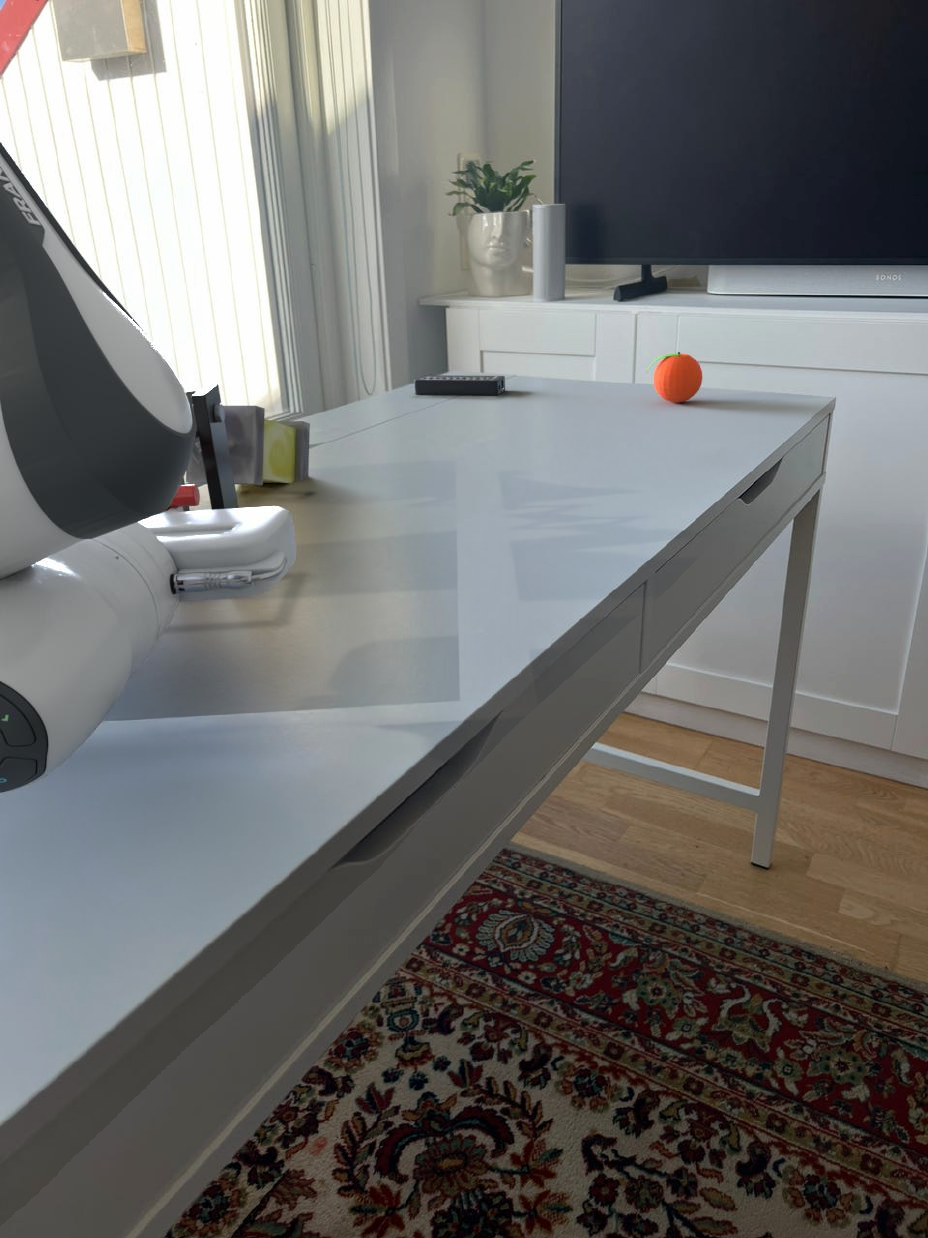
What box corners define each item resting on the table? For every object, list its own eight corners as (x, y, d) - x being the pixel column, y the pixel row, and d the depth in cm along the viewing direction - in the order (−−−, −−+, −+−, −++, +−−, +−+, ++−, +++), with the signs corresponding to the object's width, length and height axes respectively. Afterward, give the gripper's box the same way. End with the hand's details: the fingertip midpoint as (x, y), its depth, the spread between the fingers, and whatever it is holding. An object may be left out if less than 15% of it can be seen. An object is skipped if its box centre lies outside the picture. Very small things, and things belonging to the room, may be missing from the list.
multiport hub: (424, 388, 156) (423, 374, 155) (506, 389, 151) (505, 375, 150) (414, 394, 152) (413, 379, 151) (497, 395, 147) (496, 380, 146)
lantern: (244, 571, 107) (67, 575, 78) (248, 423, 106) (69, 371, 77) (305, 575, 105) (146, 580, 76) (309, 423, 104) (149, 370, 75)
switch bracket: (278, 617, 72) (244, 399, 65) (124, 626, 72) (74, 409, 65) (297, 570, 81) (270, 374, 74) (161, 578, 81) (120, 384, 74)
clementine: (649, 408, 132) (650, 357, 129) (642, 399, 138) (643, 350, 135) (705, 405, 132) (708, 354, 129) (696, 396, 138) (698, 347, 135)
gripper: (269, 527, 51) (306, 463, 63) (-101, 548, 51) (9, 480, 63) (285, 632, 53) (317, 550, 66) (-68, 651, 53) (32, 566, 66)
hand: (163, 515), depth 65 cm, fingers closed, pressing on switch lever
